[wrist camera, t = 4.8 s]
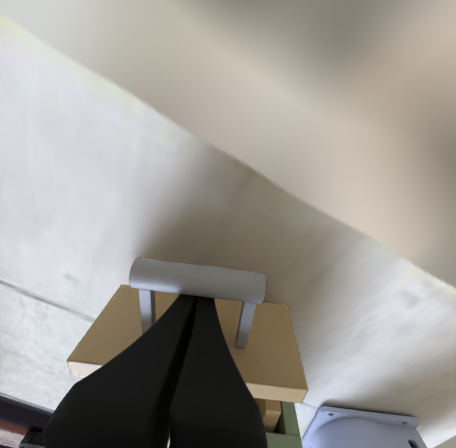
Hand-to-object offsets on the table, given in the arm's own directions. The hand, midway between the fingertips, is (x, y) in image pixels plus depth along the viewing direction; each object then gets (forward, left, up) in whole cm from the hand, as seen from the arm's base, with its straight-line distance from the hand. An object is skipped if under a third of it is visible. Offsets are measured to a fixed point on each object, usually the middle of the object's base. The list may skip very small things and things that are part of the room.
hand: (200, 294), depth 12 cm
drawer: (0, +6, -2) cm, 6 cm away
